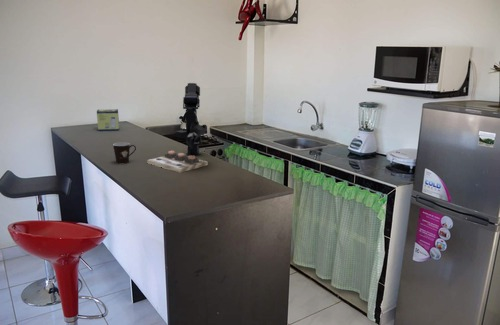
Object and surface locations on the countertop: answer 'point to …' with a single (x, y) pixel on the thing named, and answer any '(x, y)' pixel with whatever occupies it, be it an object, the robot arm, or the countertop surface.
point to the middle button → (181, 155)
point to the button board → (177, 163)
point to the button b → (191, 157)
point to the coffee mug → (122, 152)
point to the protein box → (108, 120)
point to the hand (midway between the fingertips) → (191, 148)
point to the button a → (171, 152)
